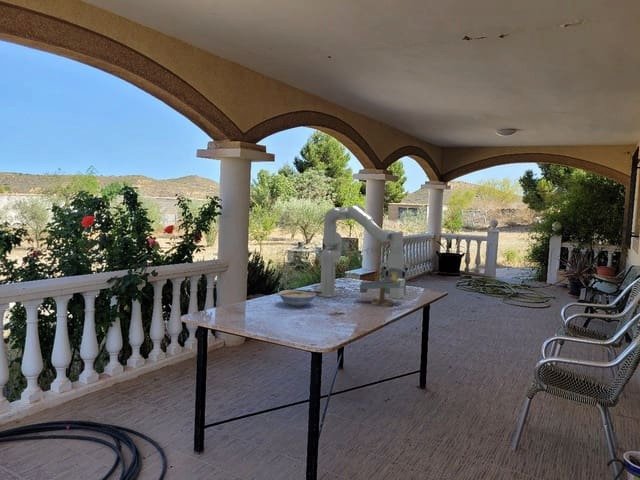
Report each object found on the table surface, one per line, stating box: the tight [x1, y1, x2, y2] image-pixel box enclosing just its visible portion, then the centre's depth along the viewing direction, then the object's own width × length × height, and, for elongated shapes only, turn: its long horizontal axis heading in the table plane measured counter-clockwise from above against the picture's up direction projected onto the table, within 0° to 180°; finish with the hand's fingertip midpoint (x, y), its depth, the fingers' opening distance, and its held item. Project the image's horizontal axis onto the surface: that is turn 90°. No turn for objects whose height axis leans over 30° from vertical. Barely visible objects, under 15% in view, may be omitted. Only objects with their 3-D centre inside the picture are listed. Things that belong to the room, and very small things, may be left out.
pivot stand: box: [371, 287, 393, 308], centre depth 292 cm, size 12×18×11 cm, turn 170°
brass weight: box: [390, 272, 399, 283], centre depth 290 cm, size 5×5×7 cm
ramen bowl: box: [278, 288, 322, 307], centre depth 279 cm, size 25×23×8 cm
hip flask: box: [383, 268, 408, 295], centre depth 326 cm, size 16×4×20 cm, turn 69°
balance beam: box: [359, 281, 400, 294], centre depth 292 cm, size 25×10×5 cm, turn 80°
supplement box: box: [389, 278, 405, 300], centre depth 311 cm, size 7×7×13 cm
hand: (395, 277), depth 290 cm, fingers open, 9 cm apart
